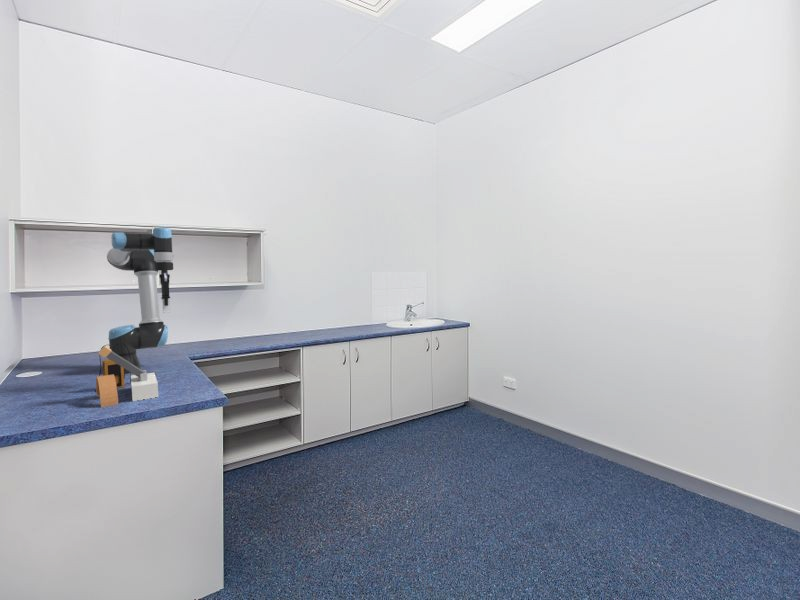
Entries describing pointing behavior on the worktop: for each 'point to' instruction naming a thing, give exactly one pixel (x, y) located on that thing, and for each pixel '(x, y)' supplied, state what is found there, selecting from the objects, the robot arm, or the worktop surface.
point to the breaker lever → (120, 361)
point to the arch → (107, 390)
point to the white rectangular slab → (144, 386)
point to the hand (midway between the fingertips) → (166, 312)
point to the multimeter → (114, 370)
